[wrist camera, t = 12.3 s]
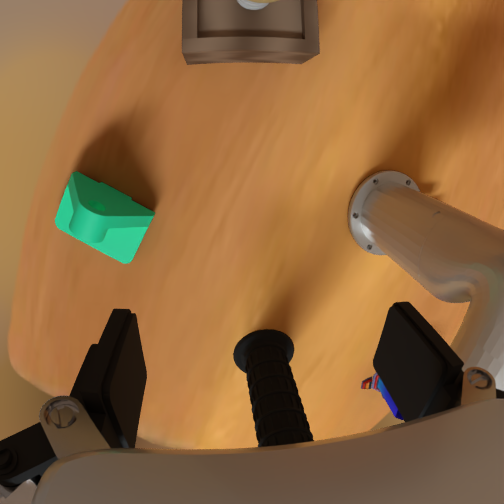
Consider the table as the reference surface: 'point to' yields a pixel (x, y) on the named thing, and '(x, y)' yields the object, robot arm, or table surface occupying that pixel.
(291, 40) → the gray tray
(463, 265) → the robot arm
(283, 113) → the table surface
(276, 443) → the handle grip
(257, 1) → the light bulb
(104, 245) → the camera mount
